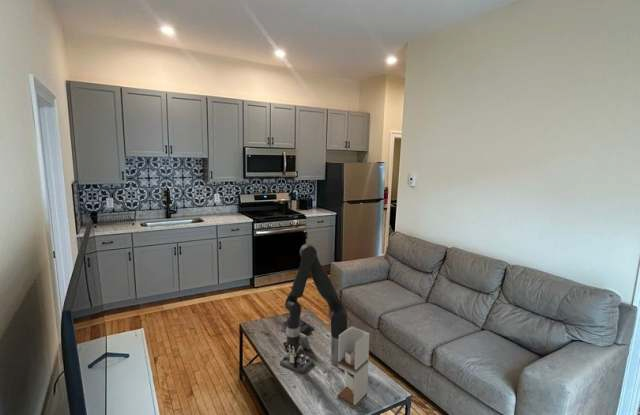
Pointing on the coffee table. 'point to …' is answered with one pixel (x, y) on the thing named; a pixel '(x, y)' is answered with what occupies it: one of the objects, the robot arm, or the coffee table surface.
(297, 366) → the console
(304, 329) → the dark slate chunk
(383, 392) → the coffee table surface
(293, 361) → the fader tab
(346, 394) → the display case
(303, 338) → the digital clock
